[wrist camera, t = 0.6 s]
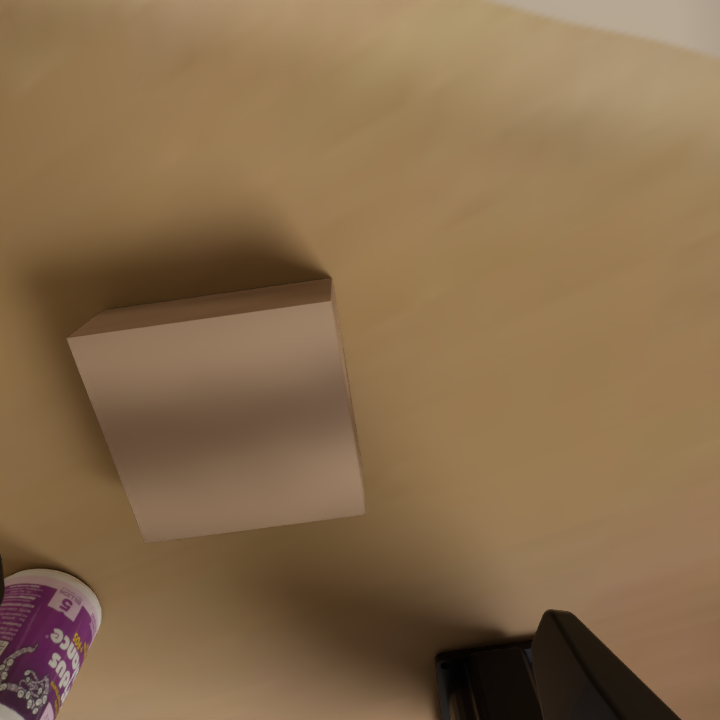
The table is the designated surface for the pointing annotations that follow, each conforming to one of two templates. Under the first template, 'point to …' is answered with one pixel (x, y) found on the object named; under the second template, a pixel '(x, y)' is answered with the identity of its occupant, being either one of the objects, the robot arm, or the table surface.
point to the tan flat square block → (226, 409)
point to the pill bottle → (43, 641)
